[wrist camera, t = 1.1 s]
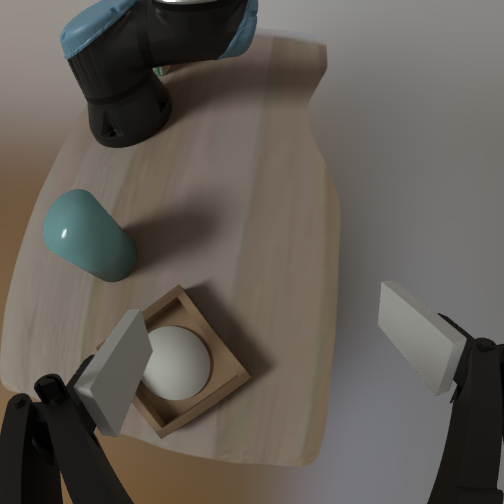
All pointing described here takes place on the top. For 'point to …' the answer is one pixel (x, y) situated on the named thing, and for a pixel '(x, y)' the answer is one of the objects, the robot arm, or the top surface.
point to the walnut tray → (221, 365)
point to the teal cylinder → (88, 236)
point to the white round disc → (176, 363)
